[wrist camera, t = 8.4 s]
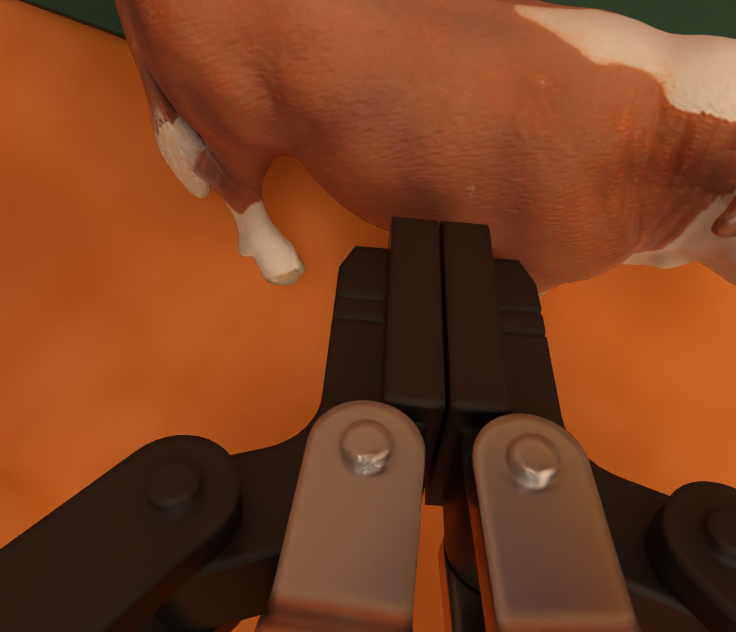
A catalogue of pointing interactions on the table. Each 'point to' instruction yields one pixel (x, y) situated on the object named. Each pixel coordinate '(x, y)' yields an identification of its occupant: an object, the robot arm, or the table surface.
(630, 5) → the cutting mat
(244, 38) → the bull figurine
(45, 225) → the table surface
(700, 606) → the robot arm
